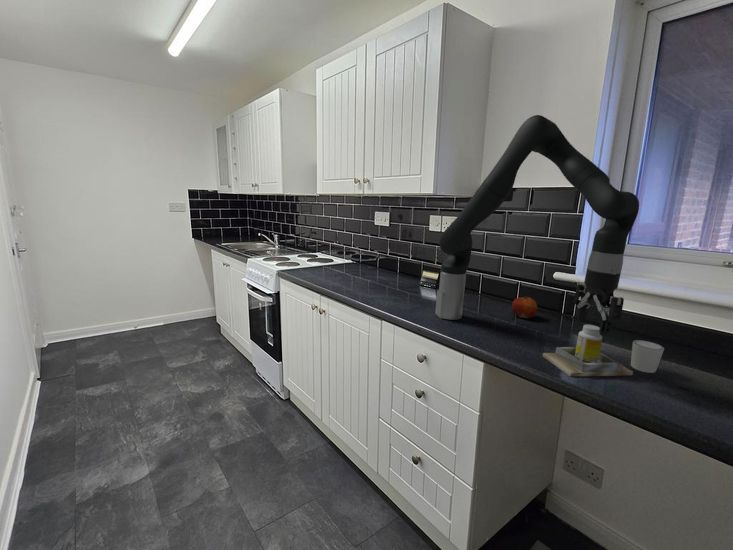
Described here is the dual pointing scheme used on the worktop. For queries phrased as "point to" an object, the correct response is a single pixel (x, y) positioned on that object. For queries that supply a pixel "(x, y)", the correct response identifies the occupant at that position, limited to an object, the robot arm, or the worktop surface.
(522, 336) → the worktop surface
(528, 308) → the tomato
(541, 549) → the soap mold
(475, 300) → the worktop surface
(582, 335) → the supplement bottle
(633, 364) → the shot glass
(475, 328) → the worktop surface
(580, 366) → the holder
